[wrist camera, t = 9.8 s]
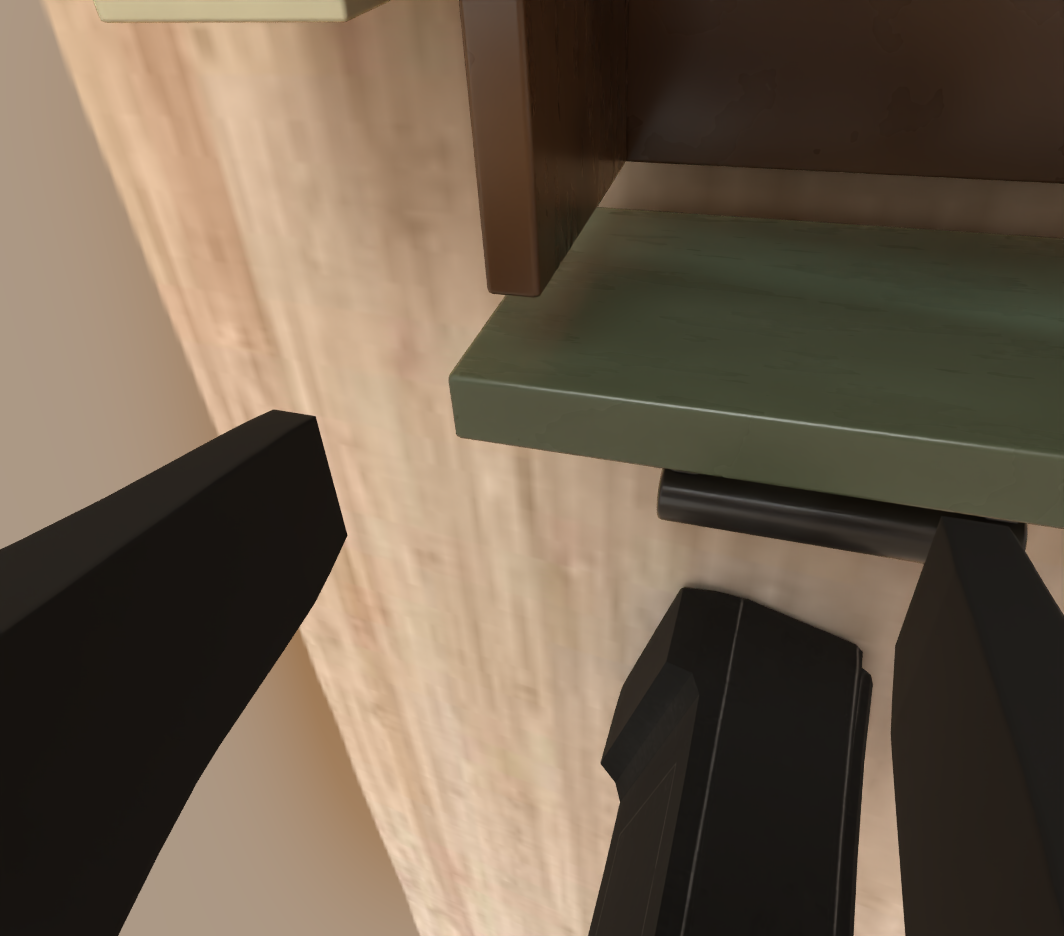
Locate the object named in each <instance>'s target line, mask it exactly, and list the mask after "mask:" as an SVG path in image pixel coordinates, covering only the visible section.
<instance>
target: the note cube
mask: <svg viewBox="0 0 1064 936" xmlns="http://www.w3.org/2000/svg"><path fill="white" fill-rule="evenodd" d="M93 1H94V4H95V7H96V10H97V12H98V15H99V18H100V19H101V21H103V22H107V23H189V22H346V21H349V20H351V19H353V18H355V17H357V16H359V15H361V14H363V13H366V12H368V11H370V10H372V9H374V8H376V7H378V6H380V5H382V4H385V3H387V2H389V1H391V0H93Z"/></svg>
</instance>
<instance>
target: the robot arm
mask: <svg viewBox="0 0 1064 936" xmlns="http://www.w3.org/2000/svg"><path fill="white" fill-rule="evenodd" d="M346 537H347V532H346V528H345V525H344V521H343V517H342V513H341V510H340V506H339V502H338V498H337V495H336V491H335V487H334V484H333V480H332V476H331V472H330V469H329V465H328V461H327V457H326V454H325V450H324V446H323V442H322V439H321V435H320V431H319V428H318V424H317V420H316V416H311V415H304V414H298V413H292V412H286V411H279V410H272V411H269V412H267V413H265V414H263V415H260V416H258V417H256V418H254V419H252V420H250V421H248V422H246V423H244V424H242V425H240V426H238V427H236V428H234V429H232V430H230V431H228V432H226V433H224V434H222V435H220V436H218V437H217V438H215V439H213V440H211V441H209V442H207V443H205V444H204V445H202V446H200V447H198V448H196V449H194V450H192V451H191V452H189V453H187V454H185V455H183V456H182V457H180V458H178V459H176V460H174V461H172V462H171V463H169V464H167V465H165V466H163V467H161V468H159V469H157V470H156V471H154V472H152V473H150V474H148V475H146V476H145V477H143V478H141V479H139V480H137V481H135V482H133V483H131V484H130V485H128V486H126V487H124V488H122V489H120V490H118V491H117V492H115V493H113V494H111V495H109V496H107V497H105V498H104V499H101V500H100V501H97V502H95V503H94V504H92V505H90V506H88V507H86V508H84V509H81V510H80V511H78V512H75V513H74V514H71V515H70V516H67V517H65V518H63V519H62V520H59V521H57V522H55V523H54V524H52V525H49V526H47V527H45V528H43V529H41V530H40V531H37V532H35V533H33V534H32V535H29V536H28V537H26V538H23V539H22V540H19V541H17V542H15V543H13V544H11V545H9V546H7V547H5V548H2V549H0V936H118V935H119V933H120V931H121V928H122V927H123V924H124V922H125V921H126V919H127V916H128V915H129V913H130V910H131V909H132V907H133V904H134V903H135V901H136V898H137V896H138V894H139V892H140V890H141V888H142V886H143V884H144V882H145V880H146V878H147V876H148V874H149V872H150V870H151V868H152V866H153V864H154V862H155V860H156V858H157V856H158V854H159V852H160V850H161V848H162V847H163V845H164V843H165V841H166V839H167V837H168V836H169V834H170V832H171V830H172V828H173V826H174V824H175V822H176V821H177V819H178V817H179V815H180V813H181V811H182V809H183V807H184V806H185V804H186V802H187V800H188V798H189V796H190V795H191V793H192V791H193V789H194V787H195V785H196V783H197V781H198V780H199V778H200V777H201V775H202V773H203V772H204V770H205V768H206V767H207V765H208V764H209V762H210V760H211V759H212V757H213V755H214V754H215V752H216V751H217V749H218V747H219V746H220V744H221V743H222V741H223V740H224V738H225V737H226V735H227V734H228V732H229V731H230V730H231V728H232V727H233V725H234V723H235V722H236V721H237V719H238V718H239V716H240V715H241V713H242V712H243V710H244V709H245V707H246V706H247V704H248V703H249V701H250V700H251V698H252V697H253V695H254V694H255V692H256V691H257V689H258V688H259V686H260V685H261V684H262V682H263V680H264V679H265V678H266V676H267V674H268V673H269V672H270V670H271V669H272V667H273V666H274V664H275V663H276V661H277V660H278V658H279V657H280V655H281V654H282V652H283V651H284V649H285V648H286V646H287V645H288V643H289V642H290V640H291V639H292V637H293V636H294V634H295V633H296V631H297V630H298V628H299V627H300V625H301V624H302V622H303V621H304V619H305V617H306V616H307V614H308V613H309V611H310V610H311V608H312V606H313V605H314V603H315V602H316V600H317V598H318V596H319V594H320V592H321V590H322V588H323V586H324V584H325V582H326V580H327V578H328V576H329V574H330V572H331V570H332V568H333V566H334V563H335V561H336V559H337V557H338V555H339V553H340V550H341V548H342V546H343V544H344V542H345V540H346ZM891 745H892V760H893V774H894V789H895V803H896V816H897V830H898V843H899V856H900V869H901V883H902V896H903V909H904V922H905V936H1064V615H1063V613H1062V612H1061V610H1060V608H1059V607H1058V605H1057V604H1056V602H1055V600H1054V599H1053V597H1052V595H1051V594H1050V592H1049V590H1048V589H1047V587H1046V586H1045V584H1044V582H1043V581H1042V579H1041V577H1040V576H1039V574H1038V572H1037V571H1036V569H1035V567H1034V565H1033V564H1032V562H1031V560H1030V559H1029V557H1028V555H1027V554H1026V552H1025V550H1024V549H1023V547H1022V545H1021V544H1020V542H1019V540H1018V539H1017V537H1016V536H1015V534H1014V533H1013V532H1012V530H1011V529H1010V528H1009V526H1003V525H997V524H990V523H984V522H978V521H972V520H965V519H959V518H953V517H946V516H941V519H940V521H939V524H938V527H937V530H936V533H935V535H934V538H933V541H932V544H931V547H930V550H929V552H928V555H927V558H926V561H925V564H924V566H923V569H922V572H921V575H920V578H919V580H918V583H917V586H916V589H915V592H914V595H913V597H912V600H911V603H910V606H909V609H908V611H907V614H906V617H905V620H904V623H903V626H902V628H901V631H900V634H899V637H898V640H897V642H896V645H895V660H894V678H893V695H892V718H891Z"/></svg>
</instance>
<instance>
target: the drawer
mask: <svg viewBox="0 0 1064 936" xmlns="http://www.w3.org/2000/svg"><path fill="white" fill-rule="evenodd" d="M459 6H460V16H461V26H462V36H463V46H464V56H465V66H466V76H467V86H468V96H469V106H470V116H471V126H472V137H473V147H474V157H475V167H476V177H477V187H478V197H479V207H480V217H481V227H482V237H483V247H484V257H485V267H486V278H487V288H488V291H489V292H490V293H492V294H501V295H505V297H504V298H503V300H502V301H501V303H500V304H499V305H498V307H497V308H496V310H495V311H494V312H493V314H492V315H491V317H490V318H489V320H488V321H487V322H486V324H485V325H484V327H483V328H482V329H481V331H480V332H479V334H478V335H477V337H476V338H475V339H474V341H473V342H472V344H471V345H470V346H469V348H468V349H467V351H466V352H465V354H464V355H463V356H462V358H461V359H460V361H459V362H458V363H457V365H456V366H455V368H454V369H453V371H452V372H451V373H450V375H449V386H450V393H451V400H452V407H453V414H454V421H455V428H456V434H457V436H458V437H460V438H465V439H472V440H479V441H485V442H492V443H499V444H505V445H512V446H518V447H525V448H532V449H538V450H545V451H551V452H558V453H565V454H571V455H578V456H585V457H591V458H598V459H604V460H611V461H618V462H624V463H631V464H637V465H644V466H651V467H657V468H663V469H662V473H661V478H660V483H659V489H658V497H657V515H658V518H660V519H661V520H667V521H673V522H679V523H685V524H691V525H697V526H702V527H708V528H714V529H720V530H726V531H732V532H738V533H744V534H750V535H756V536H762V537H768V538H774V539H780V540H786V541H792V542H798V543H804V544H810V545H815V546H821V547H827V548H833V549H839V550H845V551H851V552H857V553H863V554H869V555H875V556H881V557H887V558H893V559H899V560H905V561H911V562H917V563H923V564H925V561H926V558H927V555H928V552H929V550H930V547H931V544H932V541H933V538H934V535H935V533H936V530H937V527H938V524H939V521H940V519H941V516H946V517H953V518H959V519H965V520H972V521H978V522H984V523H990V524H997V525H1003V526H1009V528H1010V529H1011V530H1012V532H1013V533H1014V534H1015V536H1016V537H1017V539H1018V540H1019V542H1020V544H1021V545H1022V547H1023V549H1024V550H1025V549H1026V543H1027V523H1028V524H1034V525H1041V526H1048V527H1054V528H1061V529H1064V238H1051V237H1036V236H1021V235H1006V234H991V233H976V232H961V231H946V230H931V229H916V228H901V227H886V226H871V225H856V224H841V223H826V222H811V221H796V220H781V219H766V218H751V217H736V216H721V215H706V214H691V213H676V212H661V211H646V210H631V209H616V208H601V207H597V206H598V204H599V203H600V201H601V200H602V198H603V197H604V195H605V193H606V192H607V190H608V189H609V187H610V186H611V184H612V183H613V181H614V179H615V178H616V176H617V175H618V173H619V172H620V170H621V168H622V167H623V165H624V164H625V162H626V161H628V162H648V163H668V164H687V165H707V166H727V167H746V168H766V169H786V170H806V171H825V172H845V173H865V174H884V175H904V176H924V177H943V178H963V179H983V180H1003V181H1022V182H1042V183H1062V184H1064V0H459Z"/></svg>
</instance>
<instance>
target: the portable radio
mask: <svg viewBox="0 0 1064 936" xmlns="http://www.w3.org/2000/svg"><path fill="white" fill-rule="evenodd" d="M862 657H863V652H862V651H861V650H860V648H859V647H858V646H857V645H856V644H854V643H851V642H849V641H846V640H844V639H842V638H839V637H837V636H834V635H832V634H830V633H827V632H825V631H822V630H820V629H818V628H815V627H813V626H810V625H808V624H806V623H803V622H801V621H798V620H796V619H794V618H791V617H789V616H786V615H784V614H782V613H779V612H777V611H775V610H772V609H770V608H767V607H765V606H763V605H760V604H758V603H755V602H753V601H751V600H748V599H744V598H740V597H736V596H732V595H728V594H724V593H720V592H716V591H708V590H699V589H690V588H682V589H680V591H679V593H678V594H677V596H676V598H675V599H674V601H673V603H672V604H671V606H670V608H669V609H668V611H667V613H666V614H665V616H664V618H663V619H662V621H661V623H660V624H659V626H658V628H657V629H656V631H655V633H654V634H653V636H652V638H651V639H650V641H649V643H648V644H647V646H646V648H645V649H644V651H643V653H642V654H641V656H640V658H639V659H638V661H637V663H636V664H635V666H634V668H633V669H632V671H631V673H630V674H629V676H628V678H627V679H626V681H625V683H624V685H623V687H622V689H621V692H620V696H619V699H618V702H617V706H616V709H615V713H614V716H613V720H612V724H611V727H610V731H609V734H608V738H607V742H606V745H605V749H604V752H603V756H602V760H601V765H602V766H603V767H604V768H605V770H606V771H607V772H608V774H609V775H610V776H611V778H612V779H613V780H614V781H615V783H616V787H617V791H618V795H619V799H620V805H619V809H618V813H617V818H616V822H615V826H614V831H613V835H612V839H611V844H610V848H609V852H608V857H607V861H606V865H605V870H604V874H603V878H602V882H601V886H600V890H599V894H598V898H597V902H596V906H595V910H594V914H593V918H592V922H591V926H590V930H589V934H588V936H853V935H854V916H855V896H856V877H857V858H858V844H859V829H860V815H861V801H862V786H863V772H864V759H865V750H866V741H867V732H868V723H869V714H870V705H871V696H872V687H873V683H872V678H871V675H870V674H869V673H868V672H867V671H865V670H864V669H863V668H862Z"/></svg>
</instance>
